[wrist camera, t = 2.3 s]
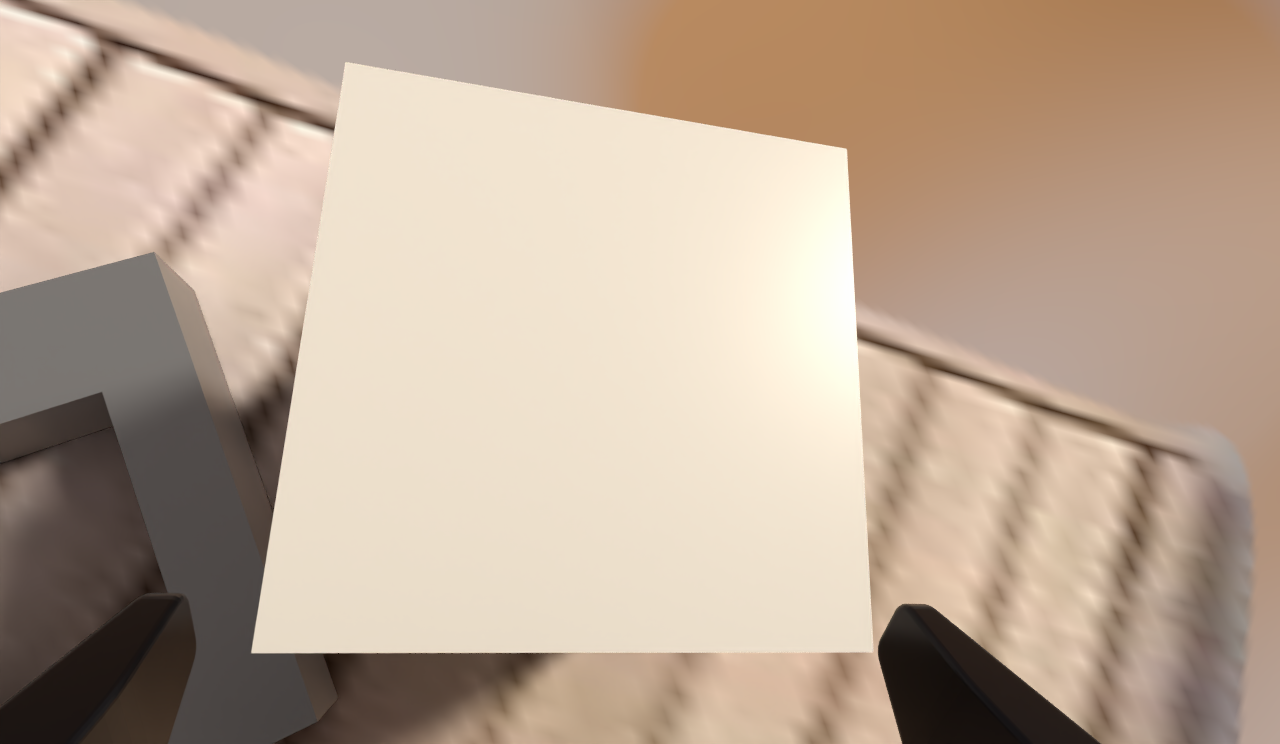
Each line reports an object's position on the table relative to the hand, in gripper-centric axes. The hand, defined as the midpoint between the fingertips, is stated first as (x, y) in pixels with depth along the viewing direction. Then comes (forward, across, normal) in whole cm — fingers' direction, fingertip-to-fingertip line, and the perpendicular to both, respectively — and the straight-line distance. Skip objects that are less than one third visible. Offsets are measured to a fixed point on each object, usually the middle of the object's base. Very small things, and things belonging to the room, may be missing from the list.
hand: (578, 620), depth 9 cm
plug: (+9, 0, +5) cm, 11 cm away
